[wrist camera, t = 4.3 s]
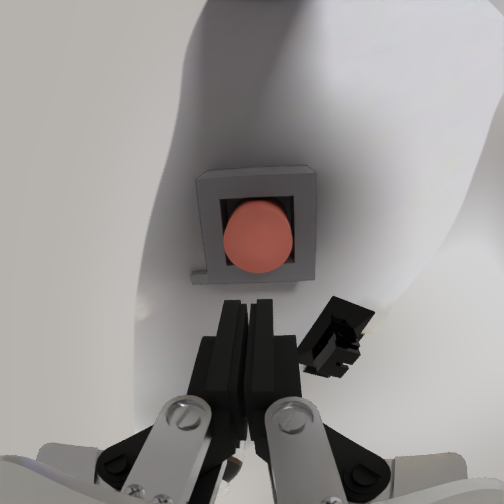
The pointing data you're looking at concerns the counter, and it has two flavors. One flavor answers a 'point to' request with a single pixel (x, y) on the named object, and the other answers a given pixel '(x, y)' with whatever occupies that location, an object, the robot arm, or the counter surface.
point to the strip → (201, 277)
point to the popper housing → (258, 185)
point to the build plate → (334, 339)
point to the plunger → (258, 235)
